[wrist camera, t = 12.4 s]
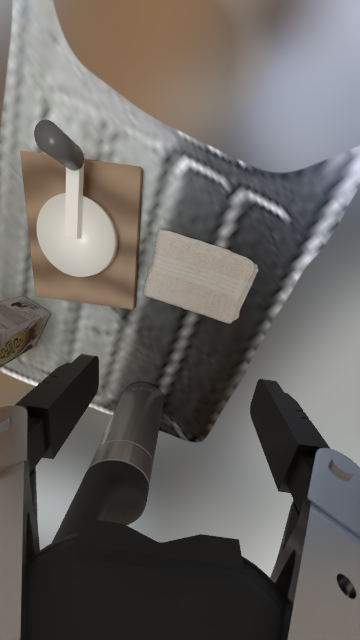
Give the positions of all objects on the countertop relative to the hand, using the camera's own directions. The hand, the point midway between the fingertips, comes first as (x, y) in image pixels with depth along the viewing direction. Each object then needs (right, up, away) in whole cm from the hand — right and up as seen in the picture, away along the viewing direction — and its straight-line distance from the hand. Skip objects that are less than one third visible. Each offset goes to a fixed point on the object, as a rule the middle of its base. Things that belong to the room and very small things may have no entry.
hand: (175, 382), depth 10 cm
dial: (-15, +19, +22) cm, 33 cm away
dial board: (-16, +17, +25) cm, 34 cm away
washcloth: (+4, +11, +27) cm, 29 cm away
